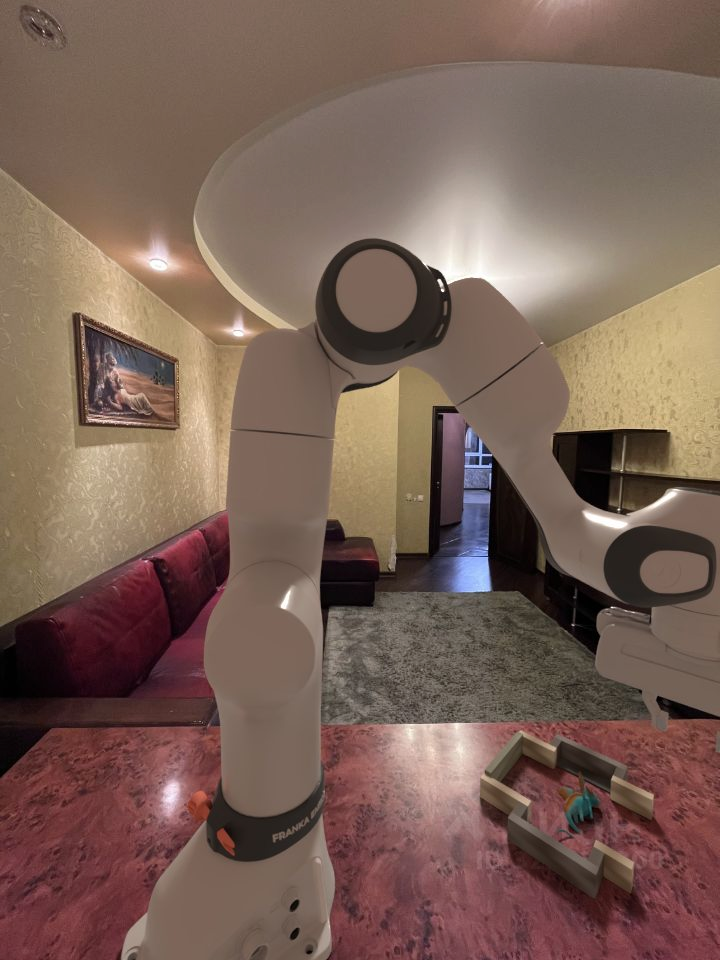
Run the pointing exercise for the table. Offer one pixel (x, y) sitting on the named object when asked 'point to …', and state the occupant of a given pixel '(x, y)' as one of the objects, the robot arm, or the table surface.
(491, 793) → the channel
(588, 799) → the dragon figurine
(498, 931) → the table surface
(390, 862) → the table surface
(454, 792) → the table surface
